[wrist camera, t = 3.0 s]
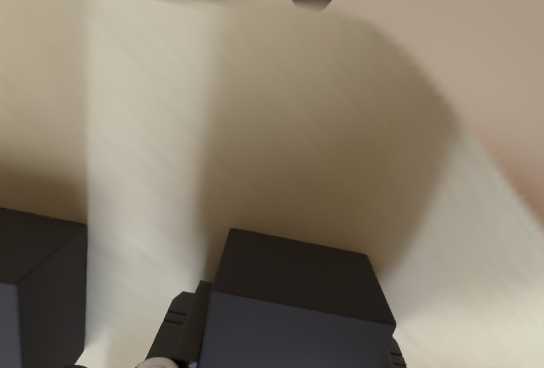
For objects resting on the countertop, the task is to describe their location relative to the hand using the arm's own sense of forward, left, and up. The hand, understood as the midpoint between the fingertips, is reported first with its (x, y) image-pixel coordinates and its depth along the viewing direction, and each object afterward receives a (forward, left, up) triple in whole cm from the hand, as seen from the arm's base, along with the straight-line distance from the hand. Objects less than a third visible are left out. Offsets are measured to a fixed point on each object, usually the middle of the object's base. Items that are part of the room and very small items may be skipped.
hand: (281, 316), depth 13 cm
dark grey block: (0, 0, 0) cm, 0 cm away
